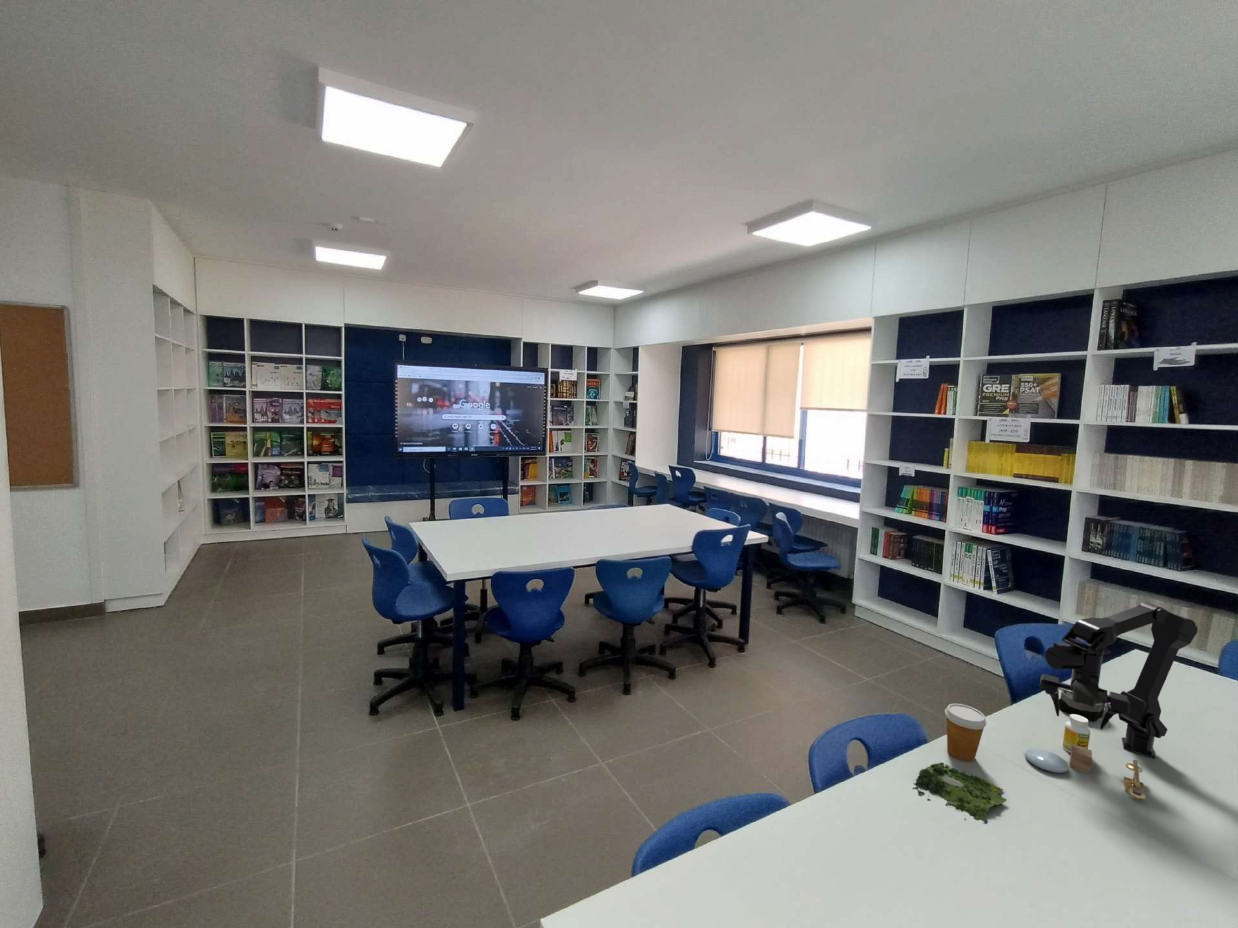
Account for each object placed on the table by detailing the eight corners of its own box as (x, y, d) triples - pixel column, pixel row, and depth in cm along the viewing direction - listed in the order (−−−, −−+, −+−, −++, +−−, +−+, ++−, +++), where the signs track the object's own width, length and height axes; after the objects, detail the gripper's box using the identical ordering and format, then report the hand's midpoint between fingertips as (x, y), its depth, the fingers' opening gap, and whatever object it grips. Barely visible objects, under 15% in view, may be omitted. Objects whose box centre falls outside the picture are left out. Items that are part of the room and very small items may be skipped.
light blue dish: (1025, 748, 154) (1026, 743, 154) (1067, 762, 149) (1068, 757, 149) (1023, 764, 147) (1024, 759, 147) (1067, 779, 142) (1068, 774, 142)
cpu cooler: (1055, 691, 176) (1069, 684, 182) (1053, 708, 177) (1066, 701, 182) (1096, 707, 168) (1109, 699, 173) (1093, 725, 168) (1106, 716, 174)
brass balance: (1122, 772, 146) (1125, 753, 145) (1141, 778, 144) (1144, 759, 143) (1126, 798, 136) (1129, 778, 135) (1146, 805, 134) (1150, 785, 133)
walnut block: (1069, 759, 151) (1072, 743, 150) (1089, 766, 148) (1091, 750, 148) (1069, 766, 147) (1072, 750, 147) (1089, 773, 145) (1092, 757, 145)
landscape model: (900, 794, 137) (900, 774, 137) (948, 768, 148) (948, 749, 148) (973, 833, 123) (973, 811, 123) (1019, 801, 134) (1020, 781, 134)
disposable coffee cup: (988, 768, 145) (993, 724, 144) (947, 762, 147) (953, 719, 146) (973, 746, 154) (978, 705, 153) (935, 741, 156) (939, 700, 155)
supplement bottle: (1072, 743, 158) (1077, 711, 157) (1092, 755, 153) (1097, 722, 152) (1057, 745, 157) (1061, 713, 156) (1076, 757, 151) (1081, 724, 150)
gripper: (1042, 666, 151) (1035, 721, 153) (1136, 691, 140) (1127, 749, 142) (1044, 653, 160) (1037, 705, 162) (1132, 675, 149) (1123, 730, 150)
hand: (1079, 722), depth 154 cm, fingers open, 9 cm apart
